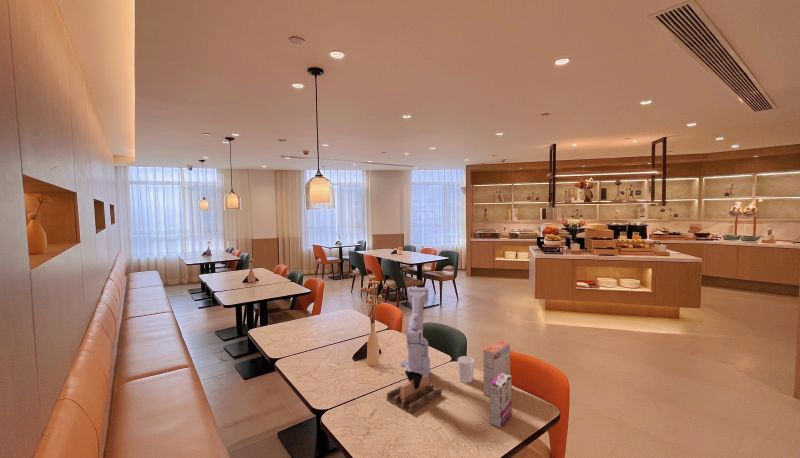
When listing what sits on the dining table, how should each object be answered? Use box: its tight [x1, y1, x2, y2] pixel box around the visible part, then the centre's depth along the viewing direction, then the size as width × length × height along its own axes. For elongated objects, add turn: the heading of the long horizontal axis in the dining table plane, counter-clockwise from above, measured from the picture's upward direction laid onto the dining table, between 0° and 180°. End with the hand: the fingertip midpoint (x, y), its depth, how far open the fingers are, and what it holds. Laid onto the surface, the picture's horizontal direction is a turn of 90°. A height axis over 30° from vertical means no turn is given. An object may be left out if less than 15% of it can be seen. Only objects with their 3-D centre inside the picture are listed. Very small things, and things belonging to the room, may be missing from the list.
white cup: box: [457, 355, 475, 384], centre depth 171 cm, size 8×8×10 cm
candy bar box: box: [489, 373, 512, 429], centre depth 139 cm, size 11×5×16 cm, turn 143°
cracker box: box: [482, 340, 511, 398], centre depth 160 cm, size 14×6×21 cm, turn 134°
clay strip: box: [399, 376, 429, 400], centre depth 155 cm, size 16×2×6 cm, turn 135°
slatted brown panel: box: [386, 383, 442, 414], centre depth 155 cm, size 20×14×3 cm
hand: (414, 387), depth 155 cm, fingers closed on clay strip, 2 cm apart
